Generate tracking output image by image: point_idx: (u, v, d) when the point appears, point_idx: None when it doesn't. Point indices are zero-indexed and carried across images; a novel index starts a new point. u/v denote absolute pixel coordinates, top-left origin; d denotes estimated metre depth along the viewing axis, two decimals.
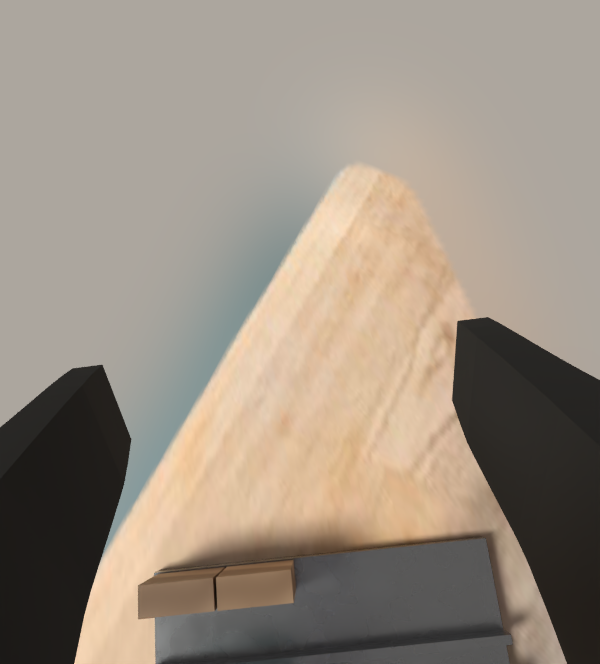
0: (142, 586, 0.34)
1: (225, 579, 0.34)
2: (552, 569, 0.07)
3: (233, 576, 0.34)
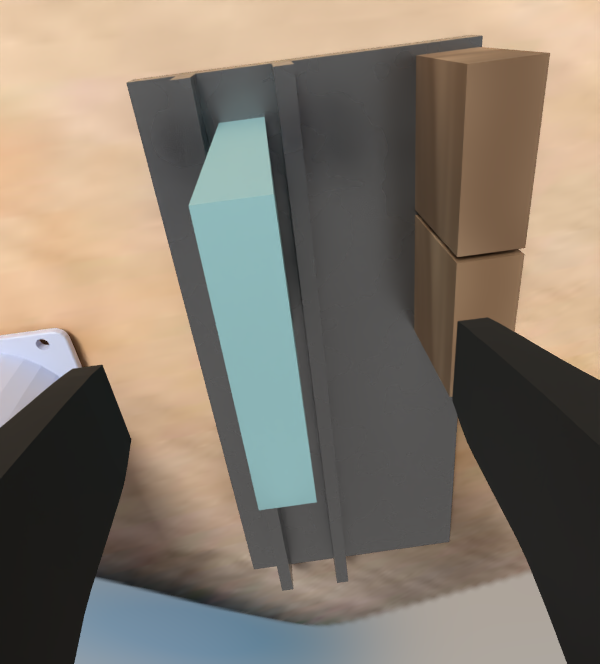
0: (545, 67, 0.12)
1: (515, 274, 0.15)
2: (552, 569, 0.07)
3: (517, 289, 0.15)
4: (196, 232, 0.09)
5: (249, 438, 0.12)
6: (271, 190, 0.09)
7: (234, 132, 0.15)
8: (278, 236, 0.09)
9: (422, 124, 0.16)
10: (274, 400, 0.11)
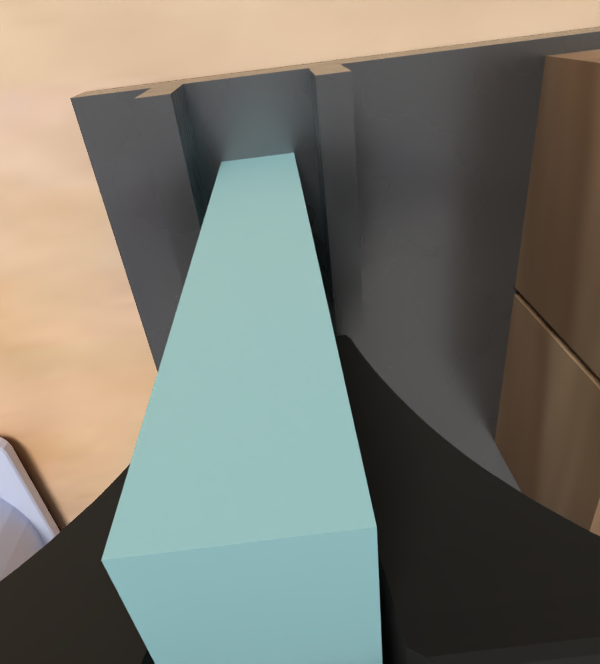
0: None
1: None
2: None
3: None
4: (132, 610, 0.03)
5: None
6: (363, 491, 0.03)
7: (246, 188, 0.09)
8: (376, 605, 0.03)
9: (550, 168, 0.10)
10: None
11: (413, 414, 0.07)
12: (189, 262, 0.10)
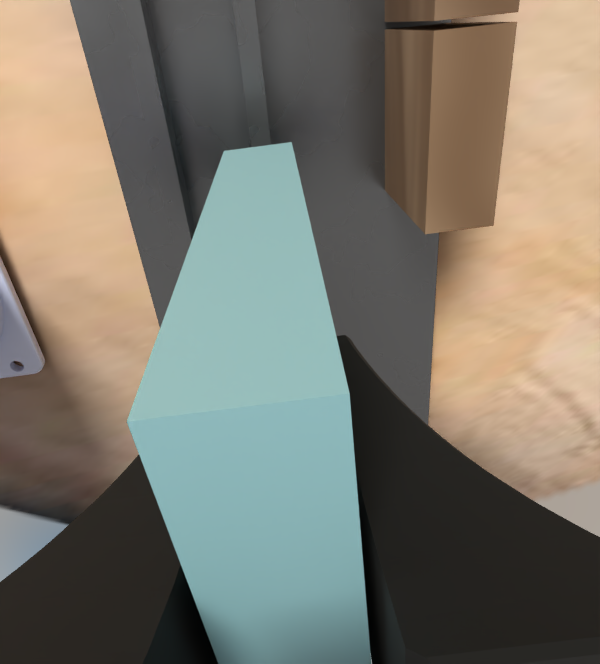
0: None
1: (505, 53, 0.12)
2: None
3: (508, 77, 0.13)
4: (151, 473, 0.04)
5: None
6: (340, 372, 0.04)
7: (247, 170, 0.09)
8: (353, 475, 0.04)
9: None
10: None
11: (412, 414, 0.07)
12: None
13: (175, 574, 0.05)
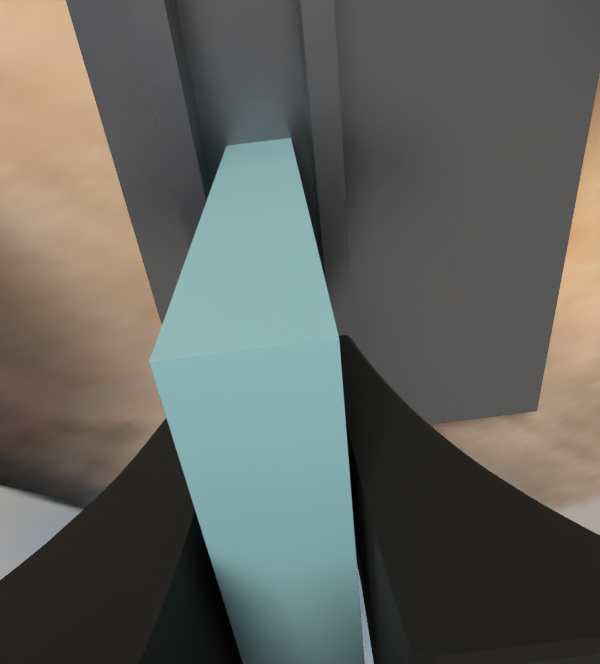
0: None
1: None
2: (365, 591, 0.07)
3: None
4: (168, 410, 0.04)
5: None
6: (331, 323, 0.04)
7: (248, 163, 0.10)
8: (342, 415, 0.04)
9: None
10: (313, 655, 0.06)
11: (414, 414, 0.07)
12: None
13: (172, 574, 0.05)
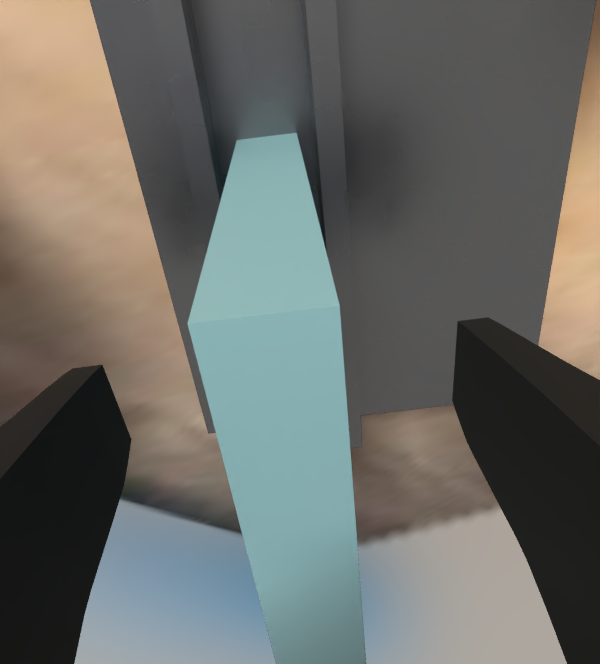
0: None
1: None
2: (552, 569, 0.07)
3: None
4: (201, 364, 0.05)
5: (277, 626, 0.08)
6: (333, 294, 0.05)
7: (258, 157, 0.11)
8: (342, 369, 0.05)
9: None
10: (317, 583, 0.07)
11: None
12: None
13: None
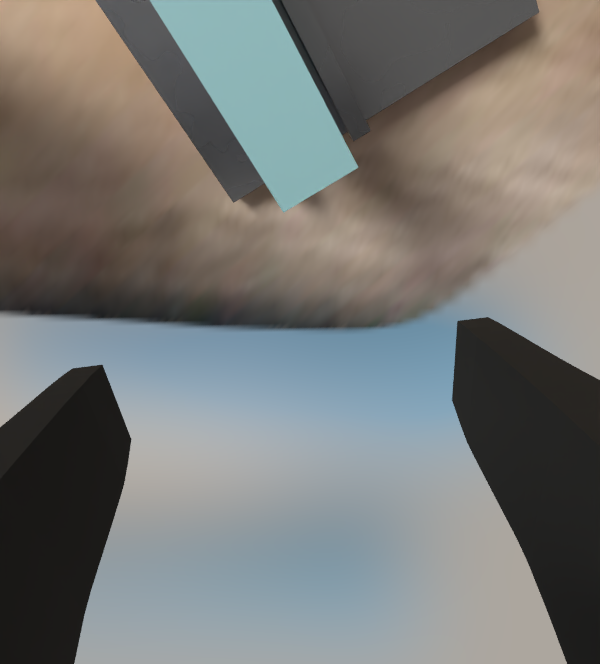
0: None
1: None
2: (552, 569, 0.07)
3: None
4: None
5: (208, 72, 0.08)
6: None
7: None
8: None
9: None
10: None
11: None
12: None
13: None
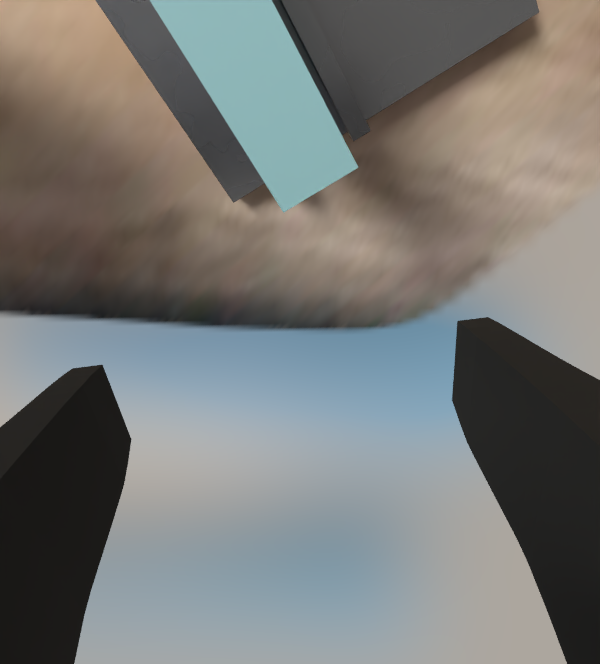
0: None
1: None
2: (552, 569, 0.07)
3: None
4: None
5: (208, 72, 0.08)
6: None
7: None
8: None
9: None
10: None
11: None
12: None
13: None
